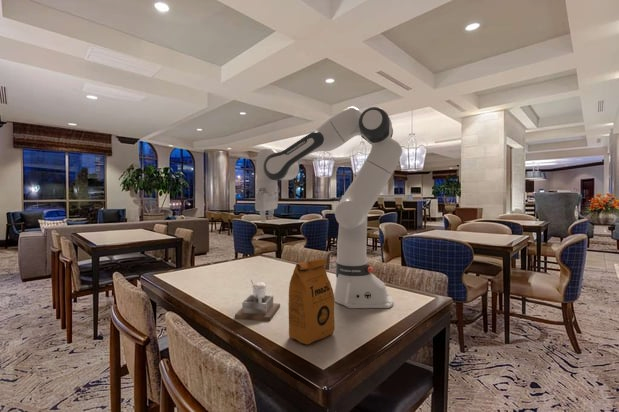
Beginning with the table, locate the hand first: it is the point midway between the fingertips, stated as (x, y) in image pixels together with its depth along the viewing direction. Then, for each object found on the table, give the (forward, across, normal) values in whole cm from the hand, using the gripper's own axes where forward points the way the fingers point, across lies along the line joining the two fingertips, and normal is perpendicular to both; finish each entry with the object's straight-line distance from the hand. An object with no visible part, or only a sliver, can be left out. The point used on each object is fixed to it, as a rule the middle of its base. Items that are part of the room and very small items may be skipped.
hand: (267, 220), depth 129 cm
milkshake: (+28, -26, -5) cm, 39 cm away
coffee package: (+29, -40, -26) cm, 56 cm away
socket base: (+29, -26, -5) cm, 39 cm away
